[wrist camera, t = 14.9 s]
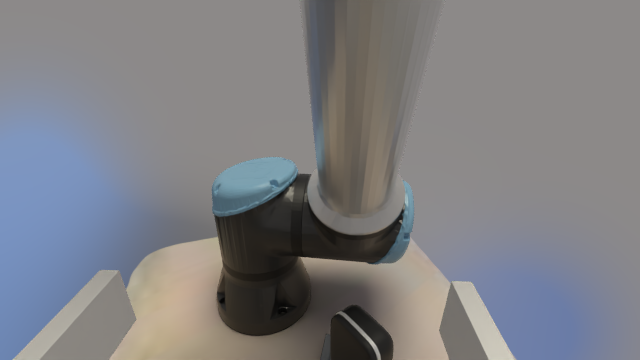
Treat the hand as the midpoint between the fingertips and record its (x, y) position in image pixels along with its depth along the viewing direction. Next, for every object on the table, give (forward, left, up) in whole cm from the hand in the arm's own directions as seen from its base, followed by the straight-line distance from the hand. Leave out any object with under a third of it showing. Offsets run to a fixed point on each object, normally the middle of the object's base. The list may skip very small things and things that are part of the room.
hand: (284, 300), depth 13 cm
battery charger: (-15, +3, -29) cm, 33 cm away
